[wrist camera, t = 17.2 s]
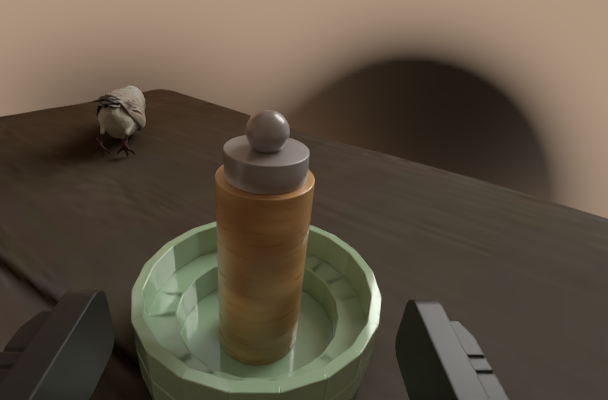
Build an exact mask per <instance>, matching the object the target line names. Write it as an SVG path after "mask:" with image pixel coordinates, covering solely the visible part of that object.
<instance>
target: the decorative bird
mask: <svg viewBox="0 0 608 400" xmlns="http://www.w3.org/2000/svg"><path fill="white" fill-rule="evenodd" d="M93 102H98V105H97V107H96V115H97V118H98V121H99V124H100V134H101V141H99V139H97V138H96V139H97V148H95V149H94V151H93V153H94V152H95V151H97V150H100V151H101V152H102V155H103V156H104V152H103V150H105V151H107V152H108V153H109V154H110V152H109V150H108V149H106V148H105V147H104V146H103V145H102V143H103V139H104V134H105V132H106V131H107V132H108V133H109V134H110V135H111V136H112V137H114V138H121V139H122V143H123V145H122V148H121V149H120V150H119V151H118V153H119V152H120V151H122V150H125V152H126V155H127V157H128V150H129V151H131V152H132V153H133V154H134V155H135V153H134V152H133V150H132V149H130V148H129V147H128V145H127V142H128V137H129V136H130V135H132V134H133V133H134V132H136V131H137V130H139V131H140V130H141V129H143V128H144V126H145V122H146V119H145V113H144V110H145V105H146V102H145V99H144V96H143V94H142V92H141V91H140V90H139V89H138V88H136V87H134V86H131V85H128V86H125V87H123V88H122V89H118V90H115V91H112V92H110V93H108V94H107V95H105V96H101V97H99V99H98V100H95V101H93ZM123 138H125V141H124V139H123ZM93 153H92V154H93ZM118 153H117V154H118ZM110 155H111V154H110Z"/></svg>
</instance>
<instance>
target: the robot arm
mask: <svg viewBox="0 0 608 400" xmlns="http://www.w3.org/2000/svg"><path fill="white" fill-rule="evenodd" d="M113 345H114V328H113V324H112V319H111V315H110V311H109V307H108V302H107V298H106V294H105V293H104V291H101V290H69V291H67V292H66V293H65V294H64V295H63V297H62V298H61V299H60V301H59V302H58V304H57V305H56V306H55V308H54V309H53V311H41V312H40V313H39V314H37V315H36V316H35V317H33V318H32V319H31V320H29V321H28V322H27V323H25V324H24V325H23V326H21V327H20V328H19V330H18V331H17V332H16V333H15V335H14V336H13V337H12V339H11V340H10V341H9V342H8V344H7V345H6V346H5V349H4V351H3V352H1V353H0V400H90V399H91V396H92V394H93V392H94V390H95V388H96V386H97V384H98V381H99V379H100V377H101V375H102V373H103V371H104V369H105V366H106V364H107V362H108V360H109V358H110V356H111V353H112V349H113ZM395 349H396V357H397V361H398V364H399V368H400V371H401V374H402V377H403V380H404V383H405V386H406V389H407V393H408V396H409V399H410V400H509V398H508V396H507V394H506V393H505V391H504V389H503V387H502V386H501V384H500V382H499V380H498V379H497V377H496V375H494V374H493V370H492V368H491V366H490V364H489V363H488V361H487V359H485V358H484V354H483V352H482V350H481V348H480V347H479V345H478V343H477V341H476V340H475V338H474V336H473V335H472V334H471V333H470V332H469V331H468V330H467V329H466V328H464V327H463V326H462V325H461V324H460V323H459V322H458V321H449V319H448V317H447V315H446V313H445V311H444V309H443V307H442V305H441V304H440V303H439V302H438V301H433V300H409V301H408V302H407V305H406V308H405V311H404V314H403V317H402V320H401V323H400V327H399V330H398V333H397V336H396V343H395Z"/></svg>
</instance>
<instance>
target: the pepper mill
mask: <svg viewBox="0 0 608 400" xmlns="http://www.w3.org/2000/svg"><path fill="white" fill-rule="evenodd" d="M289 135H290V129H289V125H288V122H287V120H286V119H285V118H284V116H282V115H281V114H280V113H278V112H276V111H274V110H270V109H265V110H261V111H258V112H256V113H255V114H253V115H252V116H251V117H250V119H249V120H248V122H247V125H246V135H244V136H239V137H236V138H233V139H231V140H229V141H228V142H226V143H225V145H224V147H223V164H224V165H222V166H221V167H220V168H219V169H218V170H217V172H216V174H215V193H216V227H217V262H218V297H219V331H220V341H221V344H222V347H223V348H224V350H225V351H226V352H227V354H228V355H229V356H231V357H232V358H233V359H235V360H237V361H239V362H241V363H244V364H249V365H265V364H270V363H273V362H275V361H278V360H279V359H281V358H282V357H284V356H285V355H286V354H287V353H288V352H289V351H290V350H291V348H292V347H293V345H294V343H295V340H296V334H297V326H298V318H299V309H300V301H301V293H302V284H303V276H304V268H305V259H306V251H307V243H308V234H309V226H310V218H311V209H312V201H313V193H314V184H315V179H314V176H313V174H312V173H311V172H310V171H309V170H308V163H309V150H308V148H307V147H306V146H305V145H304V144H302V143H301V142H299V141H296V140H294V139H291V138H289Z"/></svg>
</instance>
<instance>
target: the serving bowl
mask: <svg viewBox="0 0 608 400" xmlns="http://www.w3.org/2000/svg"><path fill="white" fill-rule="evenodd" d="M380 308H381V294H380V291H379V288H378V285H377V283H376V280H375V277H374V274H373V272H372V270H371V269H370V267H369V266H368V265H367V264H366V262H365V261H364V260H363V259H362V257H361V256H360V255H359V254H358V253H357V251H356V250H355V249H353V248H352V247H350V246H349V245H348V244H346V243H345V242H343V241H342V240H341V239H339V238H338V237H336V236H335V235H333V234H331V233H328V232H326V231H324V230H321V229H319V228H316V227H314V226H312V225H310V226H309V234H308V243H307V251H306V259H305V268H304V276H303V284H302V293H301V301H300V309H299V318H298V326H297V334H296V340H295V343H294V345H293V347H292V348H291V350H290V351H289V352H288V353H287V354H286V355H285V356H284V357H282V358H281V359H279V360H278V361H275V362H273V363H270V364H265V365H249V364H244V363H241V362H239V361H237V360H235V359H233V358H232V357H231V356H229V355H228V354H227V352H226V351H225V350H224V348H223V347H222V344H221V341H220V331H219V297H218V262H217V227H216V222H213V223H209V224H206V225H203V226H200V227H197V228H193V229H191V230H189V231H188V232H186V233H184V234H182V235H180V236H179V237H177V238H175V239H173V240H171V241H170V242H168V243H166V244H165V245H164V246H163V247H162V248H161V249H160V250H159V251H158V252H157V253H156V254H155V255H154V256H153V257H151V258H150V259H149V260H148V261H147V262H146V263H145V265H144V266H143V268H142V270H141V272H140V275H139V277H138V279H137V281H136V283H135V285H134V287H133V289H132V292H131V324H132V329H133V334H134V339H135V344H136V349H137V354H138V359H139V365H140V370H141V375H142V377H143V379H144V381H145V384H146V386H147V388H148V390H149V392H150V394H151V396H152V399H153V400H352V398H353V396H354V394H355V393H356V391H357V389H358V387H359V385H360V384H361V382H362V380H363V378H364V376H365V373H366V370H367V366H368V363H369V359H370V355H371V351H372V348H373V344H374V341H375V337H376V333H377V330H378V326H379V318H380Z"/></svg>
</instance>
